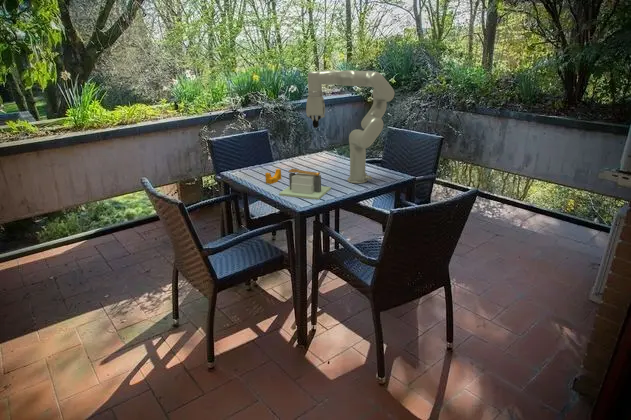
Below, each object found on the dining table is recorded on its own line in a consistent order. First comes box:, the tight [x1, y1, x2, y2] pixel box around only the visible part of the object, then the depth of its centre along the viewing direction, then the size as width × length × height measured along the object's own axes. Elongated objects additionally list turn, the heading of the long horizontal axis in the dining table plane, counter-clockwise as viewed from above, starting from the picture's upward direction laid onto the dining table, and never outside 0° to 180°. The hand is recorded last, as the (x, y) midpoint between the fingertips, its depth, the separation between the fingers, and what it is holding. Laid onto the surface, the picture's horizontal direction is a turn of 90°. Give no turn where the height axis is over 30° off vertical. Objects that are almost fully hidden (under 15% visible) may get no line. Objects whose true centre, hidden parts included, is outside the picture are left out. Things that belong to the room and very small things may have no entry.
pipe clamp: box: [264, 168, 282, 185], centre depth 263 cm, size 12×4×6 cm, turn 145°
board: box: [278, 172, 332, 200], centre depth 241 cm, size 24×20×10 cm
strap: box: [288, 168, 321, 176], centre depth 238 cm, size 18×5×1 cm, turn 68°
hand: (315, 127), depth 240 cm, fingers closed
